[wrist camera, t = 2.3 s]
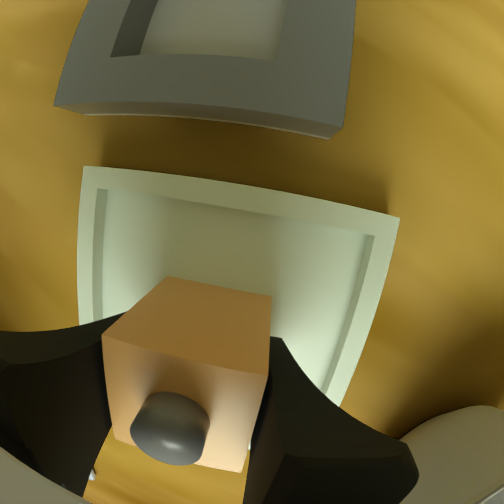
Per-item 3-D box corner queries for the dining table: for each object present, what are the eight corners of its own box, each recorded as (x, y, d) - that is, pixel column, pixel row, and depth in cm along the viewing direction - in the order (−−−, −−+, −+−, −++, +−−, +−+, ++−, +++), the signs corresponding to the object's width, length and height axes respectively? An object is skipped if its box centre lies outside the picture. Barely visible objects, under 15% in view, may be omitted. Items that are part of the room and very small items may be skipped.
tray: (100, 392, 13) (90, 404, 12) (99, 166, 11) (83, 165, 10) (313, 439, 13) (314, 456, 12) (388, 214, 10) (400, 217, 9)
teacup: (330, 433, 13) (350, 566, 5) (503, 345, 11) (586, 423, 3) (370, 517, 15) (383, 589, 7) (485, 462, 14) (518, 523, 6)
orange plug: (162, 361, 12) (102, 459, 6) (167, 275, 11) (80, 354, 5) (252, 381, 12) (237, 497, 6) (271, 295, 11) (266, 404, 5)
